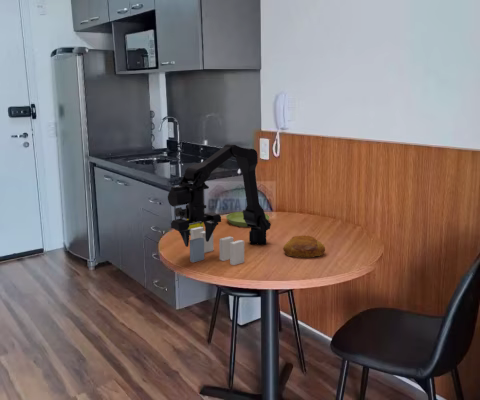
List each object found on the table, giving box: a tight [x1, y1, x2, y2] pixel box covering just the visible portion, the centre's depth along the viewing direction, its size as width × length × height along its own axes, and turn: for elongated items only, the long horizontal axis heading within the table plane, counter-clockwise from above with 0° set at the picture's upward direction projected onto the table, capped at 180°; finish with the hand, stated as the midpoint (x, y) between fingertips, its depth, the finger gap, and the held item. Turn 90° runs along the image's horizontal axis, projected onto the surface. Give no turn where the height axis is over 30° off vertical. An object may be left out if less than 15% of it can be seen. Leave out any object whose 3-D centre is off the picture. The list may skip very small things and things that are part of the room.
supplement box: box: [186, 219, 204, 236], centre depth 211 cm, size 6×6×11 cm
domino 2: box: [189, 238, 205, 263], centre depth 177 cm, size 2×5×8 cm, turn 131°
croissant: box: [282, 235, 326, 258], centre depth 185 cm, size 14×16×8 cm
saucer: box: [225, 211, 270, 228], centre depth 230 cm, size 21×21×3 cm
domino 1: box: [190, 226, 205, 240], centre depth 192 cm, size 2×5×8 cm, turn 131°
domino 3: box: [200, 230, 214, 254], centre depth 187 cm, size 2×5×8 cm, turn 131°
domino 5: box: [229, 239, 245, 266], centre depth 174 cm, size 2×5×8 cm, turn 131°
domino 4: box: [218, 235, 234, 262], centre depth 178 cm, size 2×5×8 cm, turn 131°
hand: (197, 243), depth 177 cm, fingers open, 9 cm apart
